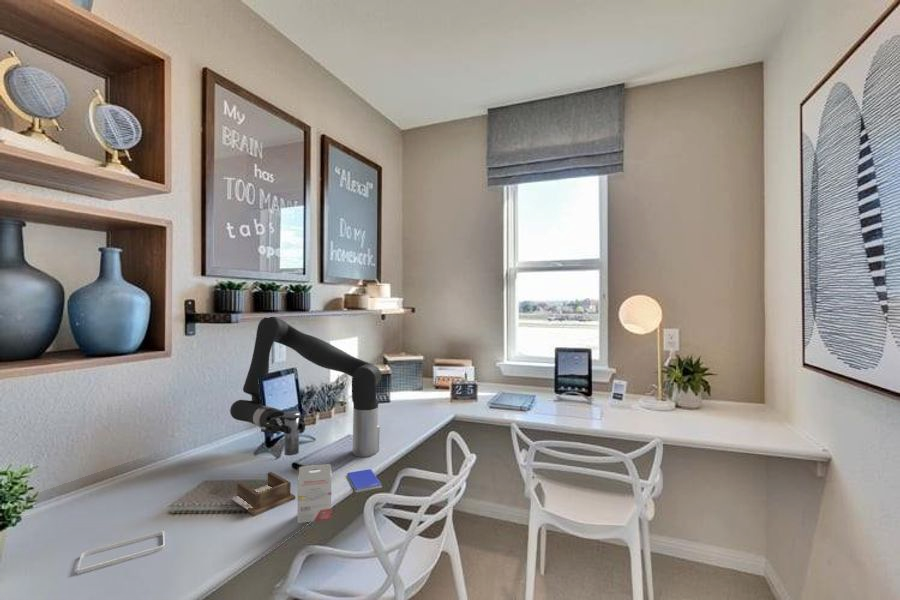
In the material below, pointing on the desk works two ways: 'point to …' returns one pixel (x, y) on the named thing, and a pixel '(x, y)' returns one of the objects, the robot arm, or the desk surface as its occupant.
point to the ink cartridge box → (314, 493)
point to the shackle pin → (292, 433)
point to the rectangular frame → (81, 570)
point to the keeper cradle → (266, 494)
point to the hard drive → (364, 480)
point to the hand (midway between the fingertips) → (296, 428)
